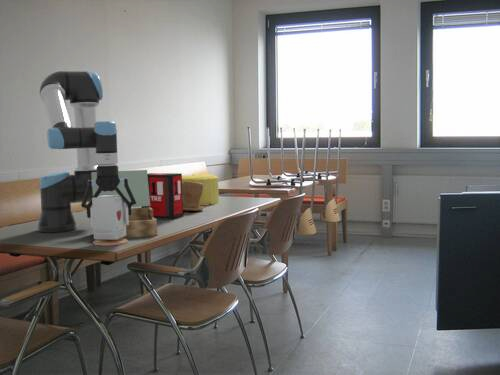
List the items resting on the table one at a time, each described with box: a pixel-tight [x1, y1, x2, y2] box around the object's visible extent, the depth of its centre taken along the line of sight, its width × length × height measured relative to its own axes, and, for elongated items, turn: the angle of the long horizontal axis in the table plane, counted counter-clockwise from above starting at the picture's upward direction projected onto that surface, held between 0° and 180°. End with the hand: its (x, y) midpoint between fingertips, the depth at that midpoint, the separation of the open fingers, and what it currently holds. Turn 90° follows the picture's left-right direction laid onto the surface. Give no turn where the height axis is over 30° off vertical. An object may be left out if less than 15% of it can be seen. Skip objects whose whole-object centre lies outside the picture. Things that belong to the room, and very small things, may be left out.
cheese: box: [182, 173, 220, 206], centre depth 319 cm, size 26×26×15 cm
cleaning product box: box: [140, 172, 184, 220], centre depth 267 cm, size 16×9×20 cm, turn 69°
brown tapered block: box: [182, 181, 204, 212], centre depth 288 cm, size 15×12×15 cm
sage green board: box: [91, 169, 150, 208], centre depth 234 cm, size 22×15×1 cm
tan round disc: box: [93, 238, 129, 247], centre depth 210 cm, size 12×12×1 cm
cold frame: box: [97, 207, 158, 240], centre depth 226 cm, size 22×15×9 cm
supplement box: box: [91, 195, 126, 240], centre depth 209 cm, size 9×9×15 cm
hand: (109, 225), depth 210 cm, fingers closed on supplement box, 12 cm apart
